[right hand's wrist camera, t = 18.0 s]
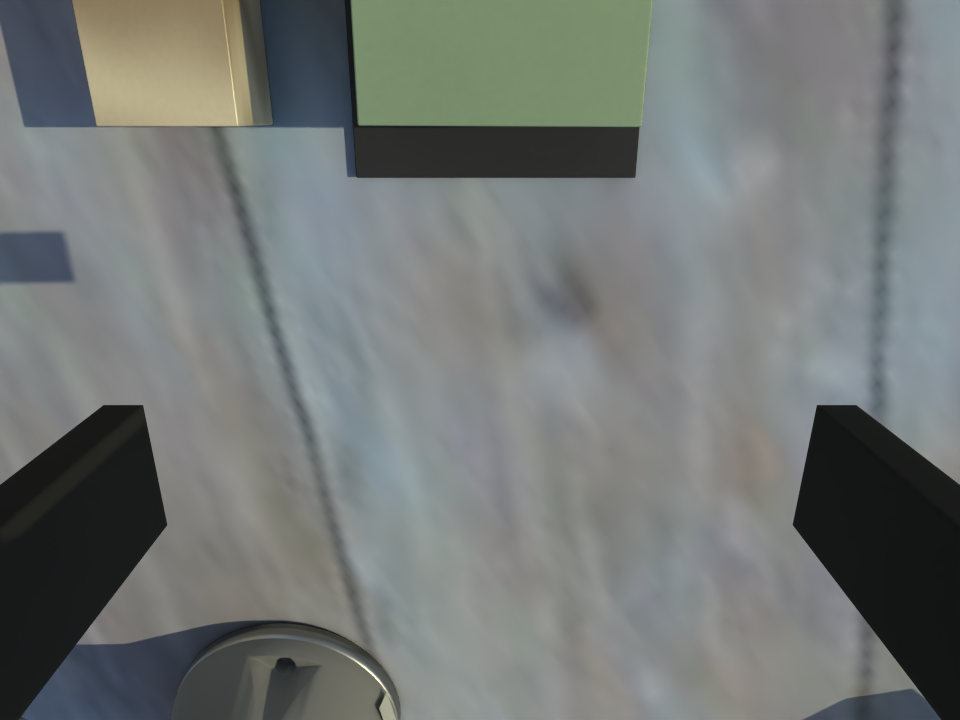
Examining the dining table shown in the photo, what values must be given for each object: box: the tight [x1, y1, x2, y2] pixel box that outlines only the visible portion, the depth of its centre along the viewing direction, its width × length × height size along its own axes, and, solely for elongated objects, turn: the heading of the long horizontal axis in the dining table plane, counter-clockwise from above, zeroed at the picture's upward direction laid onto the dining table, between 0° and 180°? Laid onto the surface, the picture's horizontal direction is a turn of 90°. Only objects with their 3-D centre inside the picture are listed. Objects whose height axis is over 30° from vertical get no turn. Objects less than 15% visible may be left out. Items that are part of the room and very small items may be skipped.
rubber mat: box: [345, 0, 639, 178], centre depth 30 cm, size 14×14×1 cm
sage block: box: [351, 0, 653, 127], centre depth 27 cm, size 9×11×7 cm
